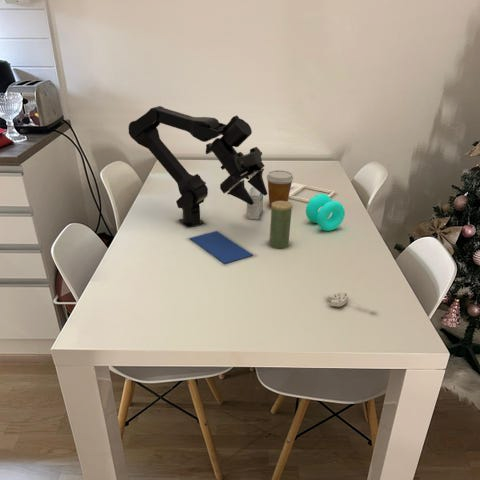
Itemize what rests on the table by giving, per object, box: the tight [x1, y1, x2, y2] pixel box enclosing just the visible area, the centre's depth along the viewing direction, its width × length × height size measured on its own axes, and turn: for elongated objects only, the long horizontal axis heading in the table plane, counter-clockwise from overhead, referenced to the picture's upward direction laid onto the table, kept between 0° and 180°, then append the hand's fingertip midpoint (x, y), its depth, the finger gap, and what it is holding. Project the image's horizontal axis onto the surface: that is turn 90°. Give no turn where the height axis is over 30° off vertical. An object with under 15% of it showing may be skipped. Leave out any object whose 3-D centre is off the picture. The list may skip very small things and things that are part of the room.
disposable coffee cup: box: [265, 169, 294, 209], centre depth 175 cm, size 10×10×12 cm
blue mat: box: [189, 230, 254, 265], centre depth 150 cm, size 20×10×1 cm, turn 35°
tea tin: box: [268, 201, 293, 250], centre depth 149 cm, size 6×6×13 cm
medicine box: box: [246, 186, 264, 221], centre depth 169 cm, size 8×4×9 cm, turn 168°
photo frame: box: [288, 182, 336, 203], centre depth 189 cm, size 15×1×18 cm
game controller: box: [328, 291, 373, 312], centre depth 124 cm, size 6×12×3 cm, turn 76°
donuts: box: [305, 193, 346, 232], centre depth 162 cm, size 10×10×10 cm
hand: (259, 199), depth 148 cm, fingers open, 9 cm apart
